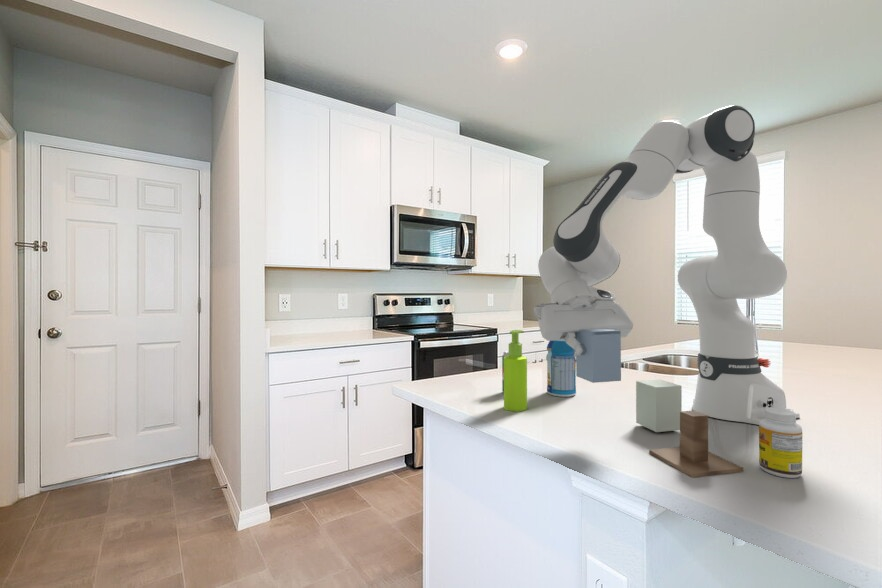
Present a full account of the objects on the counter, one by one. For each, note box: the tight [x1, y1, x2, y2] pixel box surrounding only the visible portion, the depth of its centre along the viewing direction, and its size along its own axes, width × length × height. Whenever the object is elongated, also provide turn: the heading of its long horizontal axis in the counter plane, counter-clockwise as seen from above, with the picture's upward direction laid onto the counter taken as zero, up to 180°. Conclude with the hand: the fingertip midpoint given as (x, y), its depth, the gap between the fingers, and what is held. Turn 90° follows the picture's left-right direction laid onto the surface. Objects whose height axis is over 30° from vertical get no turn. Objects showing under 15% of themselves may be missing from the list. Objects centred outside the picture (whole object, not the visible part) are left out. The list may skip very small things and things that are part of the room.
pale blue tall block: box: [575, 329, 622, 384], centre depth 84 cm, size 6×6×10 cm
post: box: [648, 409, 744, 478], centre depth 72 cm, size 10×10×9 cm
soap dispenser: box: [503, 329, 528, 412], centre depth 106 cm, size 6×7×20 cm
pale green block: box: [635, 379, 683, 433], centre depth 89 cm, size 6×6×10 cm
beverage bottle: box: [545, 340, 577, 398], centre depth 119 cm, size 8×8×20 cm
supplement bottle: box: [758, 408, 803, 479], centre depth 68 cm, size 6×6×10 cm
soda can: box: [501, 351, 509, 394], centre depth 120 cm, size 5×5×12 cm
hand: (599, 352), depth 83 cm, fingers closed on pale blue tall block, 6 cm apart
